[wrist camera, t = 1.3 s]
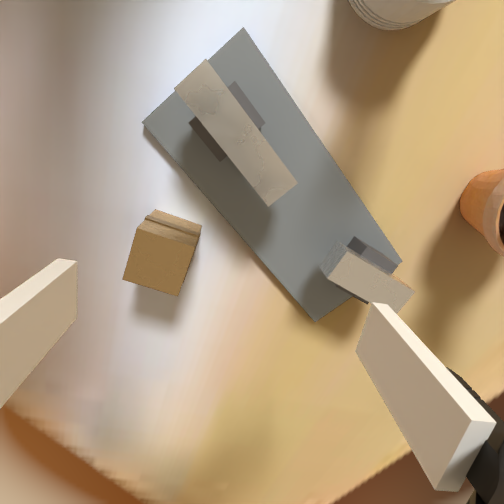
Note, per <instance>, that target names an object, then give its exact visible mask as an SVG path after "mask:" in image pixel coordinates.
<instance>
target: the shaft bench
mask: <svg viewBox="0 0 504 504" xmlns="http://www.w3.org/2000/svg"><path fill="white" fill-rule="evenodd" d="M208 62H209V64H210V65H211V66H212V68H213V69H214V70H215V72H216V73H217V74H218V76H219V77H220V78H221V80H222V81H223V83H224V84H225V85H226V87H227V88H228V89H229V91H230V92H231V93H232V95H233V96H234V97H235V99H236V100H237V101H238V103H239V104H240V105H241V107H242V108H243V110H244V111H245V112H246V114H247V115H248V116H249V118H250V119H251V120H252V122H253V123H254V124H255V126H256V127H257V128H258V130H259V131H260V132H261V134H262V135H263V137H264V138H265V139H266V141H267V142H268V143H269V145H270V146H271V147H272V149H273V150H274V151H275V153H276V154H277V155H278V157H279V158H280V159H281V161H282V162H283V164H284V165H285V166H286V168H287V169H288V170H289V172H290V173H291V174H292V176H293V177H294V178H295V180H296V181H297V182H298V184H296V185H295V186H294V187H292V188H291V189H290V190H289V191H287V192H286V193H285V194H284V195H282V196H281V197H280V198H279V199H277V200H276V201H275V202H274V203H272V204H271V205H270V206H269V207H268V206H267V204H266V203H265V202H264V201H263V199H262V198H261V197H260V196H259V194H258V193H257V192H256V191H255V189H254V188H253V187H252V186H251V184H250V183H249V182H248V181H247V179H246V178H245V177H244V176H243V174H242V173H241V172H240V171H239V169H238V168H237V167H236V166H235V164H234V163H233V162H232V161H231V159H230V158H229V157H228V156H227V154H226V153H225V152H224V151H223V149H222V148H221V147H220V146H219V144H218V143H217V142H216V141H215V139H214V138H213V137H212V136H211V134H210V133H209V132H208V131H207V129H206V128H205V127H204V126H203V124H202V123H201V122H200V121H199V119H198V118H197V117H196V116H195V114H194V113H193V112H192V111H191V109H190V108H189V107H188V106H187V104H186V103H185V102H184V101H183V99H182V98H181V97H180V96H179V94H178V93H177V92H176V91H175V92H174V93H172V94H171V95H170V96H169V97H168V98H167V99H166V100H165V101H164V102H163V103H162V104H161V105H160V106H159V107H157V108H156V109H155V110H154V111H153V112H152V113H151V114H150V115H149V116H148V117H147V118H146V119H145V120H144V121H142V123H143V124H144V125H145V127H146V128H147V129H148V130H149V131H150V132H151V133H152V135H153V136H154V137H155V138H156V139H157V140H158V142H159V143H160V144H161V145H162V146H163V147H164V149H165V150H166V151H167V152H168V153H169V154H170V155H171V157H172V158H173V159H174V160H175V161H176V162H177V164H178V165H179V166H180V167H181V168H182V169H183V170H184V172H185V173H186V174H187V175H188V176H189V177H190V179H191V180H192V181H193V182H194V183H195V184H196V185H197V187H198V188H199V189H200V190H201V191H202V192H203V194H204V195H205V196H206V197H207V198H208V199H209V200H210V202H211V203H212V204H213V205H214V206H215V207H216V209H217V210H218V211H219V212H220V213H221V214H222V215H223V217H224V218H225V219H226V220H227V221H228V222H229V224H230V225H231V226H232V227H233V228H234V229H235V230H236V232H237V233H238V234H239V235H240V236H241V237H242V239H243V240H244V241H245V242H246V243H247V244H248V245H249V247H250V248H251V249H252V250H253V251H254V252H255V254H256V255H257V256H258V257H259V258H260V259H261V260H262V262H263V263H264V264H265V265H266V266H267V267H268V269H269V270H270V271H271V272H272V273H273V274H274V275H275V277H276V278H277V279H278V280H279V281H280V282H281V284H282V285H283V286H284V287H285V288H286V289H287V290H288V292H289V293H290V294H291V295H292V296H293V297H294V299H295V300H296V301H297V302H298V303H299V304H300V306H301V307H302V308H303V309H304V310H305V311H306V312H307V314H308V315H309V316H310V317H311V318H312V319H313V321H314V322H316V321H318V320H319V319H321V318H322V317H323V316H325V315H326V314H328V313H329V312H331V311H332V310H333V309H335V308H336V307H338V306H339V305H341V304H342V303H344V302H345V301H346V300H348V299H349V298H351V297H352V296H353V297H355V298H357V299H359V300H360V301H362V302H364V303H366V304H368V303H369V302H368V301H366V300H364V299H363V298H361V297H359V296H357V295H356V294H354V293H352V292H350V291H348V290H347V289H345V288H343V287H341V286H340V285H338V284H336V283H334V282H332V281H331V280H329V279H327V277H326V276H325V274H324V273H323V271H322V270H321V268H320V267H319V265H320V263H321V262H322V260H323V259H324V258H325V256H326V255H327V253H328V252H329V251H330V249H331V248H332V246H333V245H334V244H335V242H336V241H338V242H340V243H342V244H343V245H345V246H347V247H348V248H350V249H352V250H353V251H355V252H357V253H358V254H360V255H362V256H363V257H365V258H367V259H368V260H370V261H372V262H373V263H375V264H377V265H378V266H380V267H382V268H383V269H385V270H387V271H388V272H390V273H393V272H394V270H395V269H396V268H397V267H398V264H399V263H401V262H402V260H401V258H400V257H399V255H398V254H397V252H396V251H395V249H394V248H393V246H392V245H391V244H390V242H389V241H388V239H387V238H386V236H385V235H384V233H383V232H382V230H381V229H380V227H379V226H378V224H377V223H376V221H375V220H374V218H373V217H372V216H371V214H370V213H369V211H368V210H367V208H366V207H365V205H364V204H363V202H362V201H361V199H360V198H359V196H358V195H357V193H356V192H355V191H354V189H353V188H352V186H351V185H350V183H349V182H348V180H347V179H346V177H345V176H344V174H343V173H342V171H341V170H340V168H339V167H338V165H337V164H336V163H335V161H334V160H333V158H332V157H331V155H330V154H329V152H328V151H327V149H326V148H325V146H324V145H323V143H322V142H321V140H320V139H319V137H318V136H317V135H316V133H315V132H314V130H313V129H312V127H311V126H310V124H309V123H308V121H307V120H306V118H305V117H304V115H303V114H302V112H301V111H300V109H299V108H298V107H297V105H296V104H295V102H294V101H293V99H292V98H291V96H290V95H289V93H288V92H287V90H286V89H285V87H284V86H283V84H282V83H281V82H280V80H279V79H278V77H277V76H276V74H275V73H274V71H273V70H272V68H271V67H270V65H269V64H268V62H267V61H266V59H265V58H264V56H263V55H262V54H261V52H260V51H259V49H258V48H257V46H256V45H255V43H254V42H253V40H252V39H251V37H250V36H249V34H248V33H247V31H246V30H245V28H244V27H243V28H242V29H241V30H240V31H239V32H238V33H237V34H236V35H235V36H233V37H232V38H231V39H230V40H229V41H228V42H227V43H226V44H225V45H224V46H223V47H222V48H221V49H220V50H218V51H217V52H216V53H215V54H214V55H213V56H212V57H211V58H210V59H209V60H208Z"/></svg>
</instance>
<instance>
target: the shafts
mask: <svg viewBox="0 0 504 504" xmlns="http://www.w3.org/2000/svg"><path fill="white" fill-rule="evenodd" d="M174 89H175V91H176V92H177V93H178V94H179V96H180V97H181V98H182V99H183V101H184V102H185V103H186V104H187V106H188V107H189V108H190V109H191V111H192V112H193V113H194V114H195V116H196V117H197V118H198V119H199V121H200V122H201V123H202V124H203V126H204V127H205V128H206V129H207V131H208V132H209V133H210V134H211V136H212V137H213V138H214V139H215V141H216V142H217V143H218V144H219V146H220V147H221V148H222V149H223V151H224V152H225V153H226V154H227V156H228V157H229V158H230V159H231V161H232V162H233V163H234V164H235V166H236V167H237V168H238V169H239V171H240V172H241V173H242V174H243V176H244V177H245V178H246V179H247V181H248V182H249V183H250V184H251V186H252V187H253V188H254V189H255V191H256V192H257V193H258V194H259V196H260V197H261V198H262V199H263V201H264V202H265V203H266V204H267V206H268V207H269V206H270V205H271V204H272V203H274V202H275V201H276V200H277V199H279V198H280V197H281V196H282V195H284V194H285V193H286V192H287V191H289V190H290V189H291V188H292V187H294V186H295V185H296V184H298V182H297V181H296V180H295V178H294V177H293V176H292V174H291V173H290V172H289V170H288V169H287V168H286V166H285V165H284V164H283V162H282V161H281V159H280V158H279V157H278V155H277V154H276V153H275V151H274V150H273V149H272V147H271V146H270V145H269V143H268V142H267V141H266V139H265V138H264V137H263V135H262V134H261V132H260V131H259V130H258V128H257V127H256V126H255V124H254V123H253V122H252V120H251V119H250V118H249V116H248V115H247V114H246V112H245V111H244V110H243V108H242V107H241V105H240V104H239V103H238V101H237V100H236V99H235V97H234V96H233V95H232V93H231V92H230V91H229V89H228V88H227V87H226V85H225V84H224V83H223V81H222V80H221V78H220V77H219V76H218V74H217V73H216V72H215V70H214V69H213V68H212V66H211V65H210V64H209V62H208V61H207V60H206V59H205V60H204V61H203V62H202V63H201V64H200V65H199V66H198V67H197V68H195V69H194V70H193V71H192V72H191V73H190V74H189V75H188V76H187V77H186V78H185V79H184V80H183V81H182V82H181V83H179V84H178V85H177V86H176V87H175V88H174ZM319 267H320V268H321V270H322V271H323V273H324V274H325V276H326V277H327V279H329V280H331V281H332V282H334V283H336V284H338V285H340V286H341V287H343V288H345V289H347V290H348V291H350V292H352V293H354V294H356V295H357V296H359V297H361V298H363V299H364V300H366V301H368V302H370V303H371V304H372V302H375V303H382V304H388V305H389V307H390V308H391V309H392V310H393V311H394V312H395V313H396V314H397V313H398V312H399V311H400V309H401V308H402V307H403V306H404V305H405V303H406V302H407V301H408V300H409V299H410V297H411V296H412V295H413V294H414V293H415V291H414V290H412V289H411V288H410V287H409V286H408V285H407V284H405V283H404V282H403V281H402V280H401V279H400V278H398V277H397V276H395V275H393V274H392V273H390V272H388V271H387V270H385V269H383V268H382V267H380V266H378V265H377V264H375V263H373V262H372V261H370V260H368V259H367V258H365V257H363V256H362V255H360V254H358V253H357V252H355V251H353V250H352V249H350V248H348V247H347V246H345V245H343V244H342V243H340V242H338V241H336V242H335V244H334V245H333V246H332V248H331V249H330V251H329V252H328V253H327V255H326V256H325V258H324V259H323V260H322V262H321V263H320V265H319Z"/></svg>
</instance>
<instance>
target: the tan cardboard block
mask: <svg viewBox="0 0 504 504" xmlns="http://www.w3.org/2000/svg"><path fill="white" fill-rule="evenodd" d="M201 227H202V225H199V224H196V223H193V222H190V221H187V220H184V219H182V218H179V217H176V216H173V215H170V214H167V213H164V212H162V211H159V210H156V209H155V210H154V211H153V212H152V213H151V214H150V215H147V216H146V217H145V220H144V221H143V222H142V223H141V224H140V225H139V226H138V227H137V230H136V233H135V237H134V240H133V244H132V247H131V251H130V255H129V258H128V262H127V265H126V269H125V272H124V276H123V279H122V280H126V281H129V282H132V283H135V284H139V285H142V286H145V287H149V288H152V289H155V290H158V291H162V292H165V293H168V294H172V295H175V296H178V295H179V292H180V289H181V286H182V283H183V282H184V279H185V277H186V274H187V271H188V268H189V265H190V262H191V259H192V257H193V254H194V251H195V248H196V245H197V242H198V239H199V237H200V230H201Z"/></svg>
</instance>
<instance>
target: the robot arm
mask: <svg viewBox="0 0 504 504" xmlns="http://www.w3.org/2000/svg"><path fill="white" fill-rule="evenodd" d="M76 319H77V261H74V260H67V259H60V258H58V259H56V260H55V261H54V262H52V263H51V264H49V265H48V266H46V267H45V268H44V269H42V270H41V271H39V272H38V273H37V274H35V275H34V276H32V277H31V278H30V279H28V280H27V281H25V282H24V283H23V284H21V285H20V286H18V287H17V288H15V289H14V290H13V291H11V292H10V293H8V294H7V295H6V296H4V297H3V298H1V299H0V409H1V407H2V406H3V405H4V404H5V403H6V401H7V400H8V399H9V398H10V397H11V396H12V394H13V393H14V392H15V391H16V390H17V388H18V387H19V386H20V385H21V384H22V382H23V381H24V380H25V379H26V378H27V377H28V375H29V374H30V373H31V372H32V371H33V369H34V368H35V367H36V366H37V365H38V364H39V362H40V361H41V360H42V359H43V358H44V356H45V355H46V354H47V353H48V352H49V351H50V349H51V348H52V347H53V346H54V345H55V343H56V342H57V341H58V340H59V339H60V337H61V336H62V335H63V334H64V333H65V332H66V330H67V329H68V328H69V327H70V326H71V324H72V323H73V322H74V321H75V320H76ZM355 352H356V353H357V355H358V357H359V359H360V360H361V362H362V364H363V366H364V367H365V369H366V371H367V373H368V374H369V376H370V378H371V380H372V381H373V383H374V385H375V386H376V388H377V390H378V392H379V393H380V395H381V397H382V399H383V400H384V402H385V404H386V406H387V407H388V409H389V411H390V413H391V414H392V416H393V418H394V420H395V421H396V423H397V425H398V427H399V428H400V430H401V432H402V434H403V435H404V437H405V439H406V440H407V442H408V444H409V446H410V447H411V449H412V451H413V453H414V454H415V456H416V458H417V460H418V461H419V463H420V465H421V467H422V468H423V470H424V472H425V474H426V475H427V477H428V479H429V481H430V482H431V484H432V486H433V487H434V489H435V490H441V491H457V492H458V491H459V489H460V487H461V485H462V484H463V482H464V480H465V478H466V477H467V478H468V480H469V481H470V483H471V484H472V486H473V487H474V488H475V490H474V491H473V493H472V495H471V496H470V498H469V500H468V502H467V503H466V504H504V422H503V421H502V420H501V418H500V417H499V416H498V415H497V414H496V413H495V412H494V411H493V410H492V409H491V408H490V407H489V406H488V405H487V404H486V403H485V402H484V401H483V400H481V399H480V398H481V397H480V396H479V395H478V394H477V393H476V392H475V391H473V390H472V388H471V387H470V386H469V385H468V384H467V383H466V382H465V381H464V380H463V379H462V377H460V376H459V375H457V374H456V373H455V372H453V371H452V370H450V369H449V368H448V367H445V366H444V365H443V364H442V363H441V362H440V361H439V360H438V359H437V357H436V356H435V355H434V354H433V353H432V352H431V351H430V350H429V349H428V348H427V347H426V346H425V344H424V343H423V342H422V341H421V340H420V339H419V338H418V337H417V336H416V335H415V334H414V333H413V331H412V330H411V329H410V328H409V327H408V326H407V325H406V324H405V323H404V322H403V321H402V320H401V318H400V317H399V316H398V315H397V314H396V313H395V312H394V311H393V310H392V309H391V308H390V307H389V305H388V304H382V303H375V302H372V304H371V307H370V310H369V313H368V316H367V318H366V321H365V324H364V327H363V330H362V333H361V336H360V339H359V342H358V345H357V348H356V351H355Z"/></svg>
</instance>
